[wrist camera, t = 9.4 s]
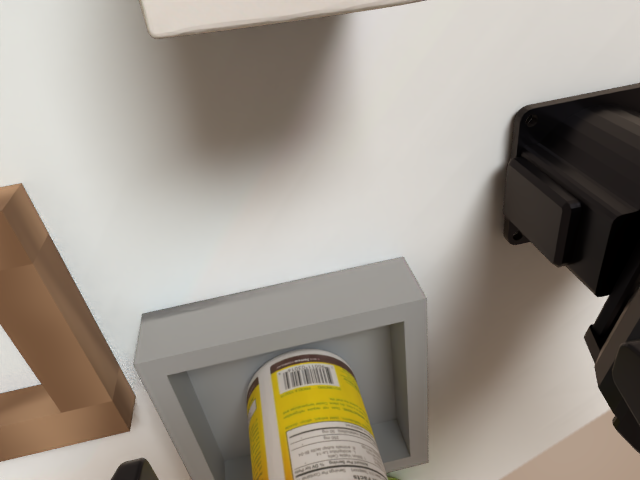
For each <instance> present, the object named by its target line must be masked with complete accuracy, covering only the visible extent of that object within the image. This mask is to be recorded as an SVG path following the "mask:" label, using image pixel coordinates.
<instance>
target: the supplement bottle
mask: <svg viewBox="0 0 640 480" xmlns="http://www.w3.org/2000/svg"><path fill="white" fill-rule="evenodd" d="M246 401H247V415H248V428H249V440H250V453H251V465H252V476H253V480H388V478H387V475H386V472H385V468H384V465H383V462H382V459H381V456H380V453H379V450H378V447H377V444H376V441H375V438H374V435H373V431H372V428H371V425H370V422H369V419H368V416H367V412H366V409H365V406H364V403H363V400H362V397H361V394H360V391H359V388H358V385H357V381H356V378H355V376H354V373H353V371H352V369H351V368H350V366H349V365H348V364H347V363H346V362H345V361H344V360H343V359H342V358H340V357H339V356H337V355H335V354H333V353H331V352H328V351H324V350H320V349H299V350H293V351H290V352H286V353H284V354H281V355H279V356H277V357H275V358H273V359H271V360H269V361H268V362H267V363H265V364H264V365H263V366H262V367H261V368H260V369H259V370H258V371H257V372H256V373H255V374H254V376H253V378H252V379H251V381H250V383H249V386H248V390H247V396H246Z"/></svg>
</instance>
